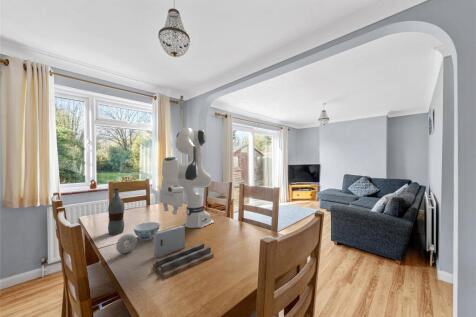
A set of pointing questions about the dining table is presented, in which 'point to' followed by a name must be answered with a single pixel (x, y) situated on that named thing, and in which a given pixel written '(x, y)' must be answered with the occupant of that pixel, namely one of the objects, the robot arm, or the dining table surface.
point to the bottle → (116, 214)
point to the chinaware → (146, 230)
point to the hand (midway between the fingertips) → (170, 212)
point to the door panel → (169, 240)
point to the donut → (122, 240)
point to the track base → (184, 266)
